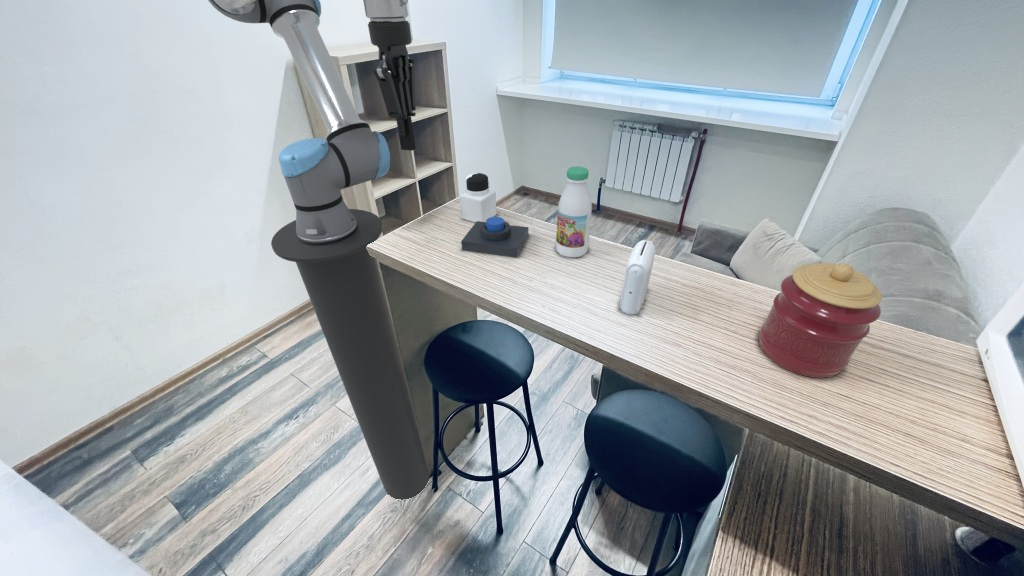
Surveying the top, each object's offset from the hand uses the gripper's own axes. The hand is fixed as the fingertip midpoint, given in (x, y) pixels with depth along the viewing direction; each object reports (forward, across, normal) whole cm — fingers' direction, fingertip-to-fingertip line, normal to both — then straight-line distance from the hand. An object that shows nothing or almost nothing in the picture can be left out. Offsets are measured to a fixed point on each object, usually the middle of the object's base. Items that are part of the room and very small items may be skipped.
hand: (408, 148), depth 89 cm
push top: (+19, +4, -18) cm, 27 cm away
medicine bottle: (+24, +17, -9) cm, 31 cm away
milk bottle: (+23, +5, -37) cm, 44 cm away
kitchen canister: (+22, -20, -80) cm, 85 cm away
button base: (+23, +4, -18) cm, 30 cm away
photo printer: (+23, -12, -52) cm, 58 cm away
